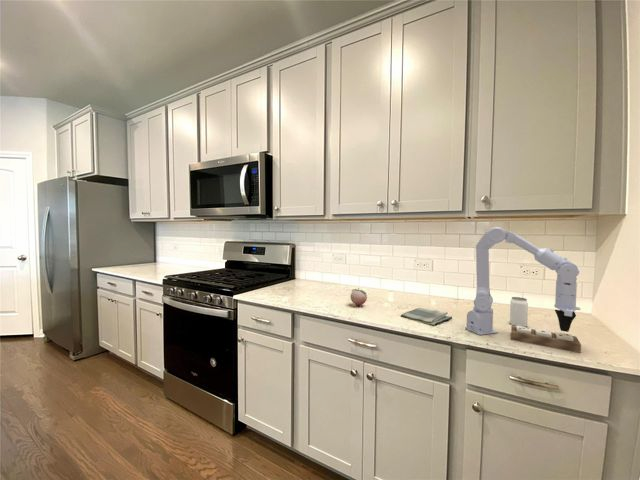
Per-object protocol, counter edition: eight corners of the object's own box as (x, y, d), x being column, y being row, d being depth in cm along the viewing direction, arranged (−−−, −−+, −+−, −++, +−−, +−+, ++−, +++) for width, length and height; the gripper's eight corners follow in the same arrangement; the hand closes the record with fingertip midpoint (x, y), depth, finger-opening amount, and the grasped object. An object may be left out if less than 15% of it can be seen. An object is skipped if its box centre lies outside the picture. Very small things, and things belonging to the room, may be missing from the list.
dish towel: (399, 317, 136) (399, 311, 136) (418, 311, 148) (419, 305, 148) (435, 328, 122) (435, 321, 122) (454, 319, 133) (454, 313, 133)
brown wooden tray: (511, 339, 108) (511, 332, 108) (511, 332, 116) (511, 325, 116) (580, 352, 97) (581, 344, 97) (575, 344, 104) (576, 336, 104)
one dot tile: (535, 339, 106) (536, 331, 106) (535, 336, 110) (535, 328, 109) (551, 342, 103) (551, 334, 103) (550, 338, 107) (550, 330, 107)
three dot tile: (516, 336, 109) (516, 328, 109) (516, 332, 113) (516, 325, 113) (531, 339, 107) (531, 331, 106) (530, 335, 110) (530, 327, 110)
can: (510, 321, 130) (511, 296, 130) (527, 324, 126) (528, 298, 126) (508, 325, 125) (509, 298, 125) (526, 328, 121) (527, 301, 121)
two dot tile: (556, 343, 102) (556, 335, 102) (554, 339, 106) (555, 331, 106) (573, 346, 100) (573, 338, 100) (570, 342, 104) (571, 334, 103)
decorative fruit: (347, 306, 153) (347, 288, 153) (352, 303, 160) (353, 286, 160) (364, 309, 149) (364, 290, 148) (368, 305, 156) (369, 287, 156)
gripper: (584, 299, 94) (583, 339, 95) (576, 292, 106) (575, 327, 106) (557, 296, 98) (556, 335, 99) (552, 289, 110) (551, 323, 110)
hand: (564, 330), depth 103 cm, fingers closed
